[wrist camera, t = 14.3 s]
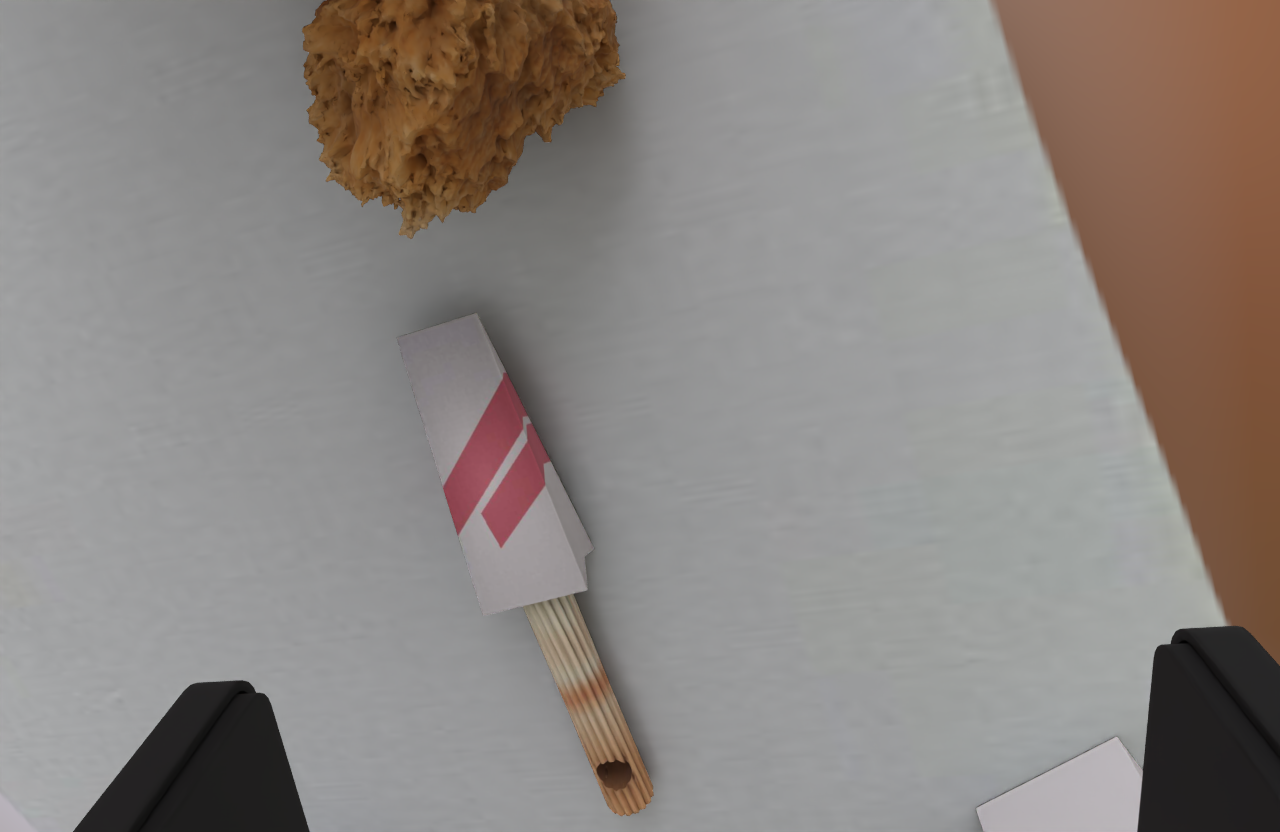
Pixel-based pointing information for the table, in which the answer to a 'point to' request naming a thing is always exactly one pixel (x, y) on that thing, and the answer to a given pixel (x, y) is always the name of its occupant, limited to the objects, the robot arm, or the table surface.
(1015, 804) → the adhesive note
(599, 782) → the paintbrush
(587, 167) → the table surface
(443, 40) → the stuffed squirrel
